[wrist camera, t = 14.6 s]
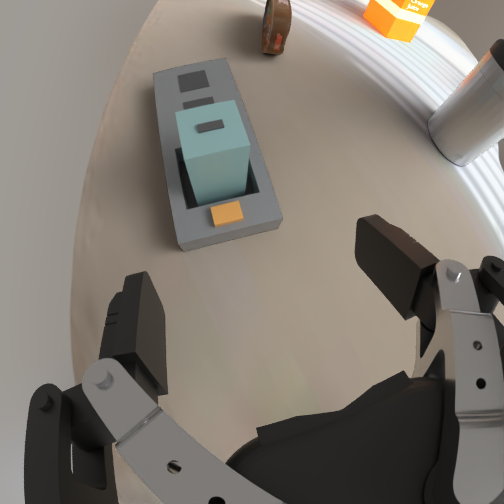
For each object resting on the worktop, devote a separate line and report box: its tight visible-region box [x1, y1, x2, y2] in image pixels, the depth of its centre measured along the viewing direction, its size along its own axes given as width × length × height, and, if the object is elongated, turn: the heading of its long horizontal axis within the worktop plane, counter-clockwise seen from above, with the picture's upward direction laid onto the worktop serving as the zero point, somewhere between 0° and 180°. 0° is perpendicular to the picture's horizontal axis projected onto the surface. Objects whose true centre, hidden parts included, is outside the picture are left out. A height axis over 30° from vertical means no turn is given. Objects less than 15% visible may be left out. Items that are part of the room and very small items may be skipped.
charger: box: [175, 100, 250, 207], centre depth 22 cm, size 4×4×9 cm
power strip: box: [153, 58, 283, 252], centre depth 26 cm, size 22×9×4 cm, turn 15°
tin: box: [262, 0, 292, 54], centre depth 29 cm, size 15×3×8 cm, turn 178°
